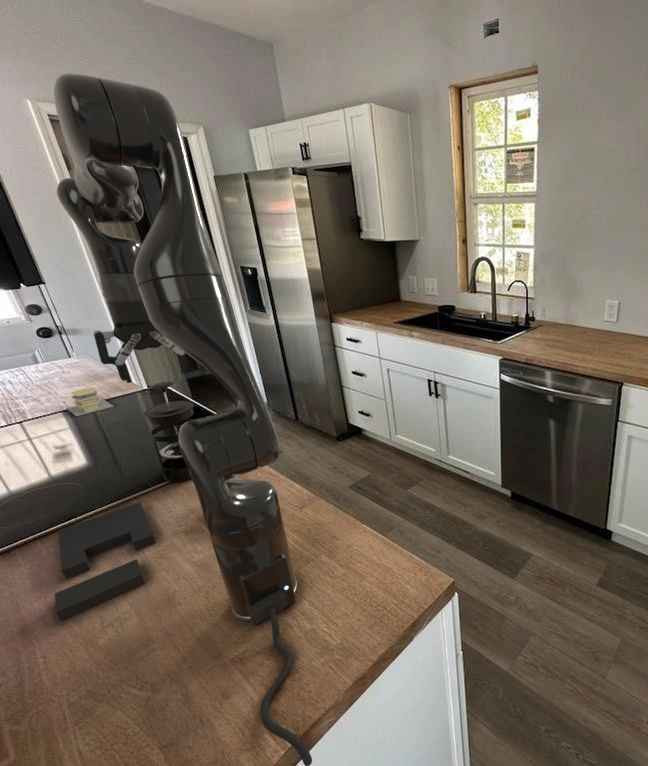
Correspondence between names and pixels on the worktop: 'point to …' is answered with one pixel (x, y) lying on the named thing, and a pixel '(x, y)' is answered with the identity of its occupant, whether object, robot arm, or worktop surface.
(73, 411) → the stacked layers on plate
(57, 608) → the black pad
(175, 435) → the french press
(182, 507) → the worktop surface
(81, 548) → the charcoal u-shaped block
